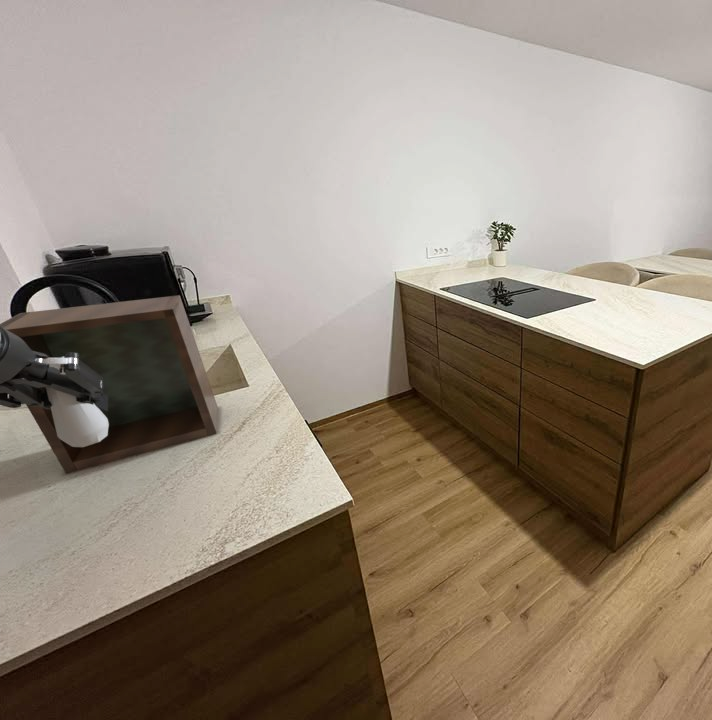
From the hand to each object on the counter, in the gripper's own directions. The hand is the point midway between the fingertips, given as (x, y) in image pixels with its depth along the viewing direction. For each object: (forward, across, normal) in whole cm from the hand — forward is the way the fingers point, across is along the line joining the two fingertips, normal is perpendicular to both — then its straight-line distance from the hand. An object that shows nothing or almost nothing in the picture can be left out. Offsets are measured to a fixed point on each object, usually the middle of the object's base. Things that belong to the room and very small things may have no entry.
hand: (90, 406), depth 62 cm
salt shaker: (0, 0, -6) cm, 6 cm away
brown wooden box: (+23, -1, 0) cm, 23 cm away
